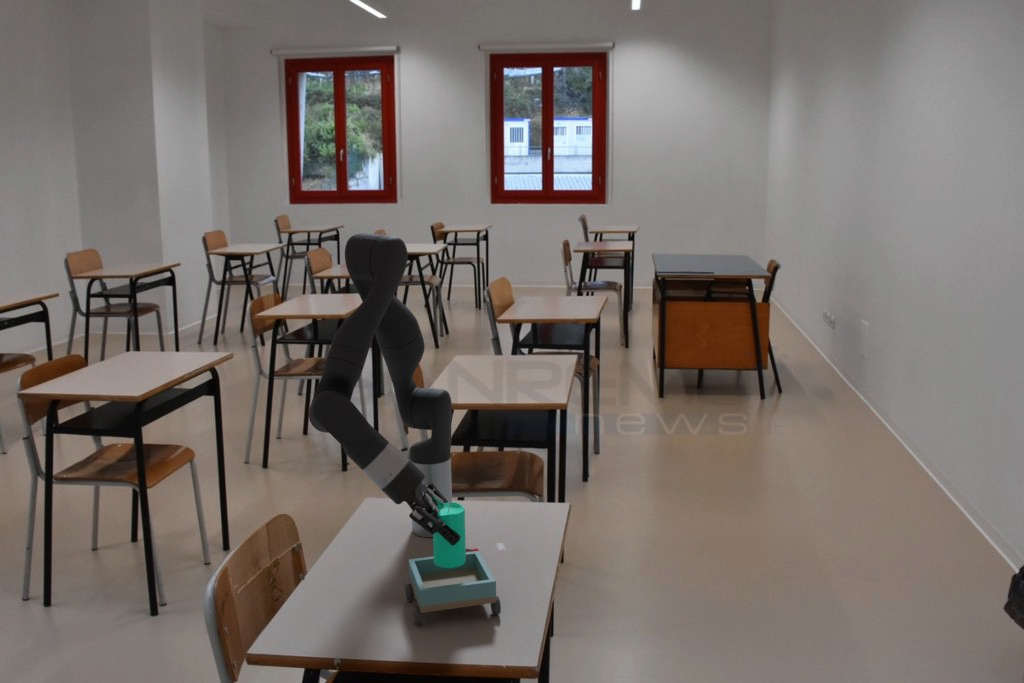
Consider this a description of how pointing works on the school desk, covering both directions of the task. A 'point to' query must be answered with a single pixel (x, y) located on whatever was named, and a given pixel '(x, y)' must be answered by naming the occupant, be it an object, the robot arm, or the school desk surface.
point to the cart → (450, 585)
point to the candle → (443, 549)
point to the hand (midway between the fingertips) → (459, 535)
